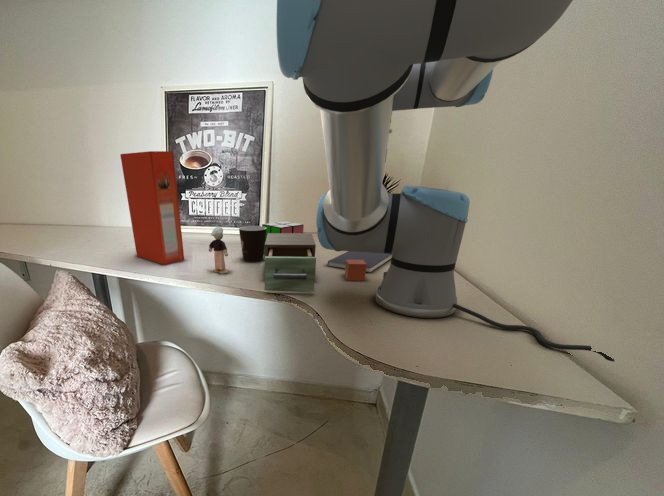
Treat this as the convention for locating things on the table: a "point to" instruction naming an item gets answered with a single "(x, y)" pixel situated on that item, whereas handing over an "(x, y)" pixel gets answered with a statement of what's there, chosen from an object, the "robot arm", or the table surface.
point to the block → (355, 270)
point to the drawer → (290, 269)
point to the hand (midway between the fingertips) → (359, 239)
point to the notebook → (369, 258)
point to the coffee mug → (252, 242)
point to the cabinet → (290, 241)
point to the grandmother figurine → (218, 250)
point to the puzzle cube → (283, 228)
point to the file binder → (153, 205)
